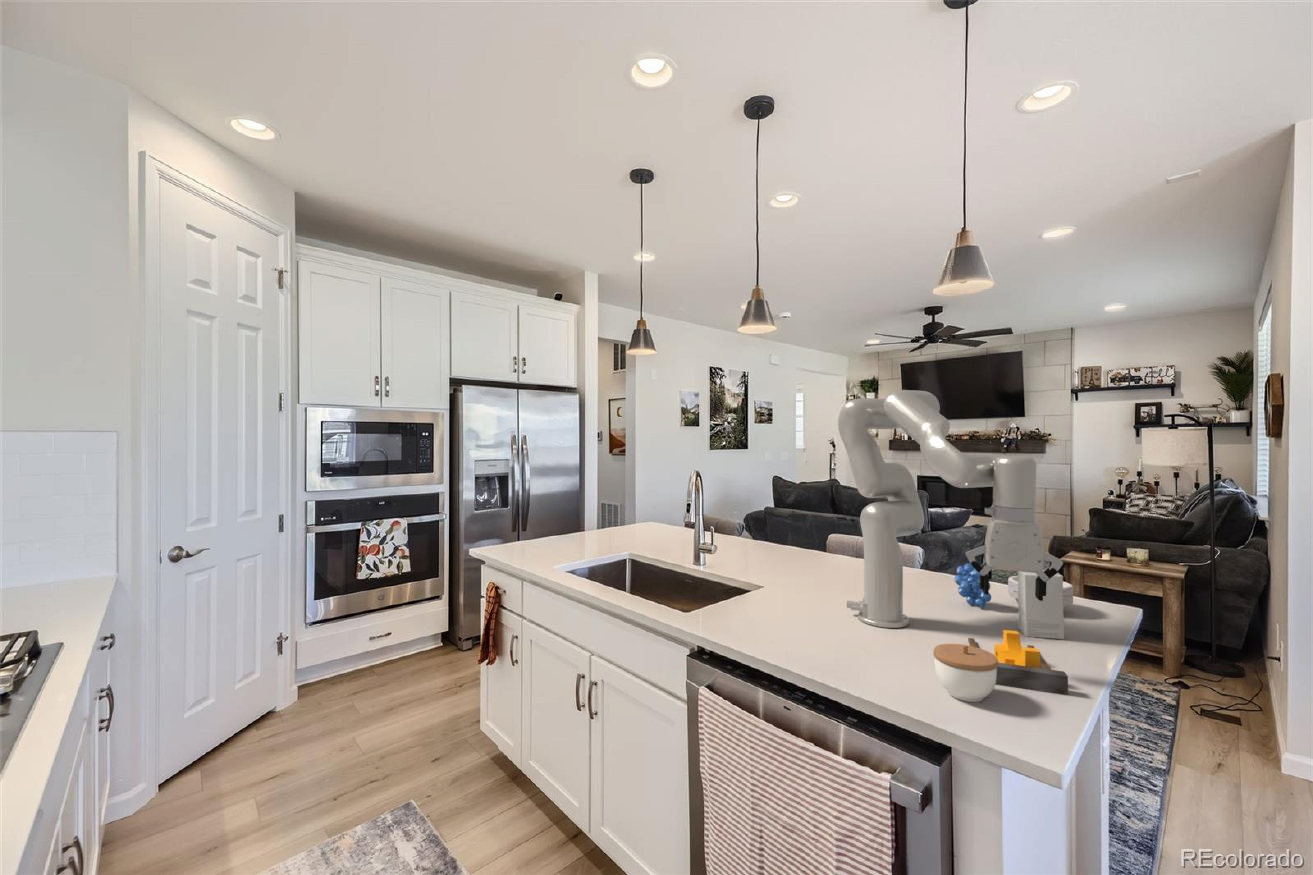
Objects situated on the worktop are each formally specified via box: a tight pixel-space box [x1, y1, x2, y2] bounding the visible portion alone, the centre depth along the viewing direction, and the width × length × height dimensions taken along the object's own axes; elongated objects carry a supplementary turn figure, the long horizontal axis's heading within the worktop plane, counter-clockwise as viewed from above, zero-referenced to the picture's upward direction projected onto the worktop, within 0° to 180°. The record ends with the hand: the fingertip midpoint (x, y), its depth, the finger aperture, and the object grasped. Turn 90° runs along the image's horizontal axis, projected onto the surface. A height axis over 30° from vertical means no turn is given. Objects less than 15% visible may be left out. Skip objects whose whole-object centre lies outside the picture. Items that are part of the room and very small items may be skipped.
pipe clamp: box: [993, 629, 1041, 668], centre depth 116 cm, size 12×4×6 cm, turn 166°
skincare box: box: [1017, 569, 1065, 640], centre depth 136 cm, size 8×7×16 cm
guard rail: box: [967, 637, 1069, 696], centre depth 118 cm, size 14×24×4 cm, turn 157°
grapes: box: [954, 562, 992, 609], centre depth 159 cm, size 12×7×12 cm, turn 19°
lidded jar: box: [933, 643, 999, 703], centre depth 105 cm, size 11×11×9 cm
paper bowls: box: [1007, 575, 1074, 610], centre depth 157 cm, size 15×15×8 cm
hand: (1011, 595), depth 116 cm, fingers open, 9 cm apart
